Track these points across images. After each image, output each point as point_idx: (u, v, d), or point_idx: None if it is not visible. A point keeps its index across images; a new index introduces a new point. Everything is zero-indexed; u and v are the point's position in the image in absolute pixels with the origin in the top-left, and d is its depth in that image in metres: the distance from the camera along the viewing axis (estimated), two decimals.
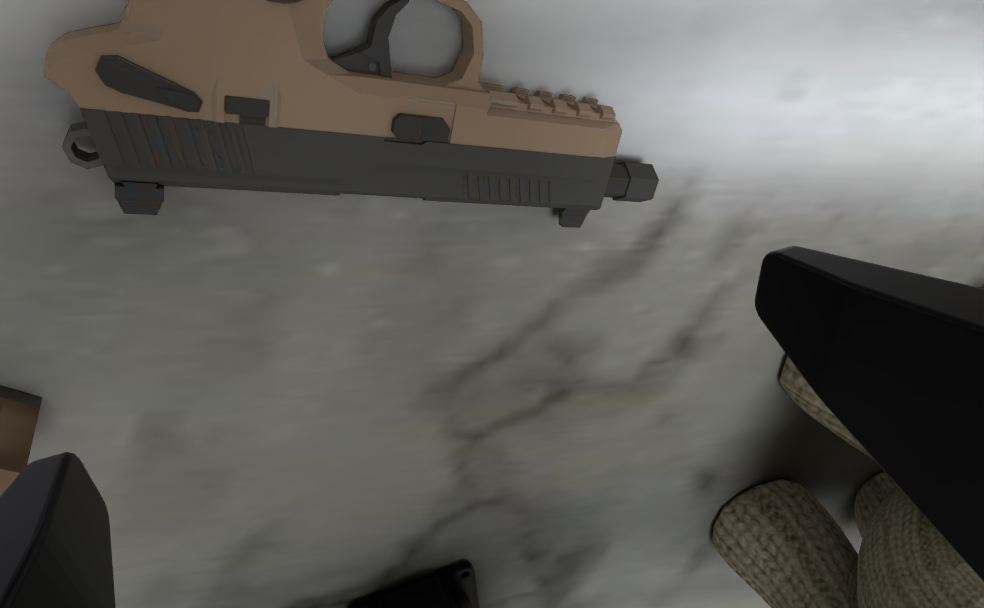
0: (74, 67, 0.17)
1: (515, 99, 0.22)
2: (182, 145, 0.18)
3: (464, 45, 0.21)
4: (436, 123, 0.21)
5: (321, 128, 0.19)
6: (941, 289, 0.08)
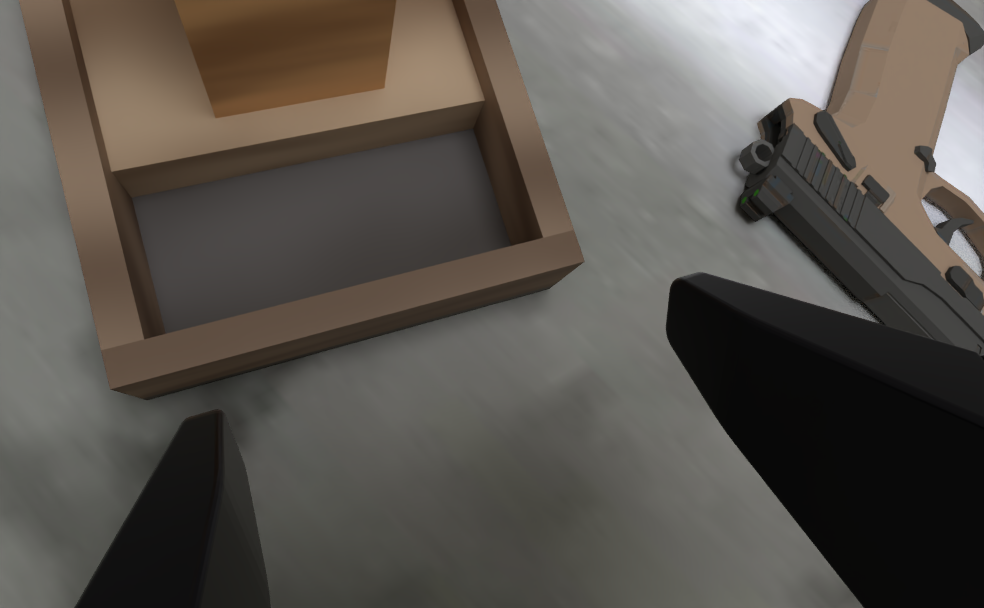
0: (805, 106, 0.25)
1: None
2: (827, 180, 0.25)
3: None
4: (976, 292, 0.26)
5: (906, 235, 0.25)
6: (837, 322, 0.08)
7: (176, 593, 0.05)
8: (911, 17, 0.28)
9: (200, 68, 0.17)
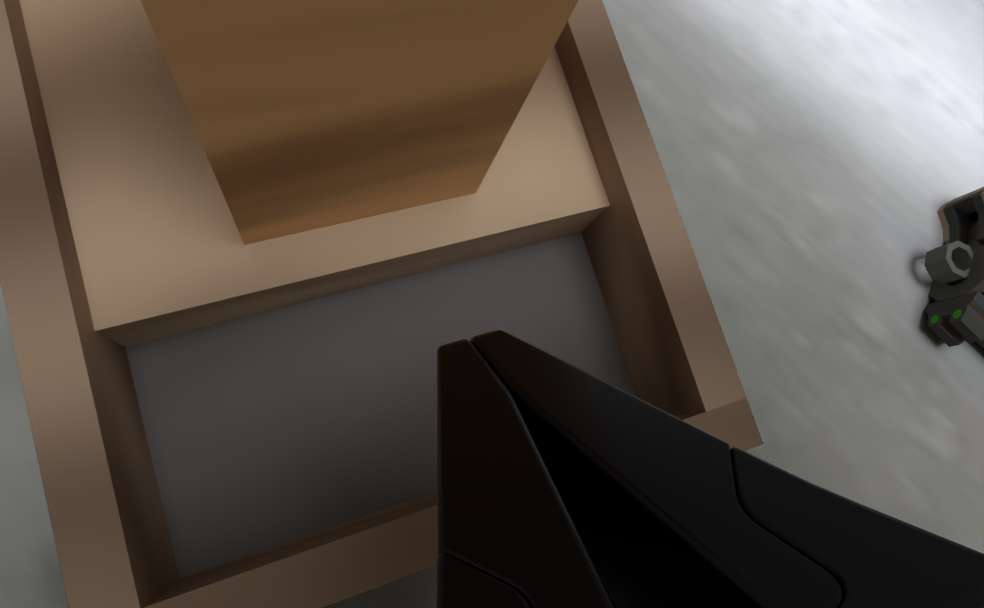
0: None
1: None
2: None
3: None
4: None
5: None
6: (602, 398, 0.07)
7: (529, 470, 0.06)
8: None
9: (227, 196, 0.11)
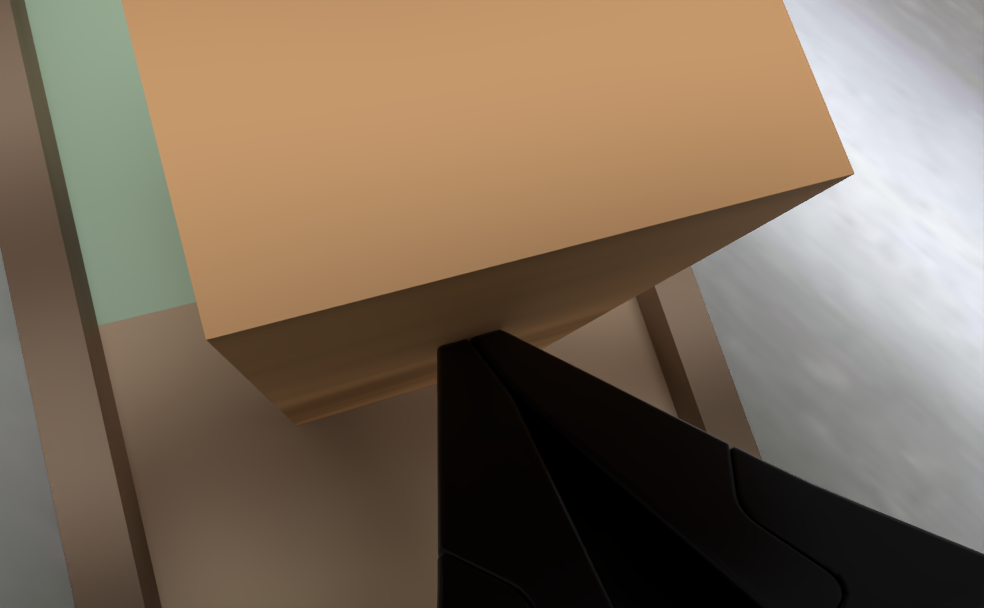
0: None
1: None
2: None
3: None
4: None
5: None
6: (602, 398, 0.07)
7: (529, 470, 0.06)
8: None
9: (290, 416, 0.11)
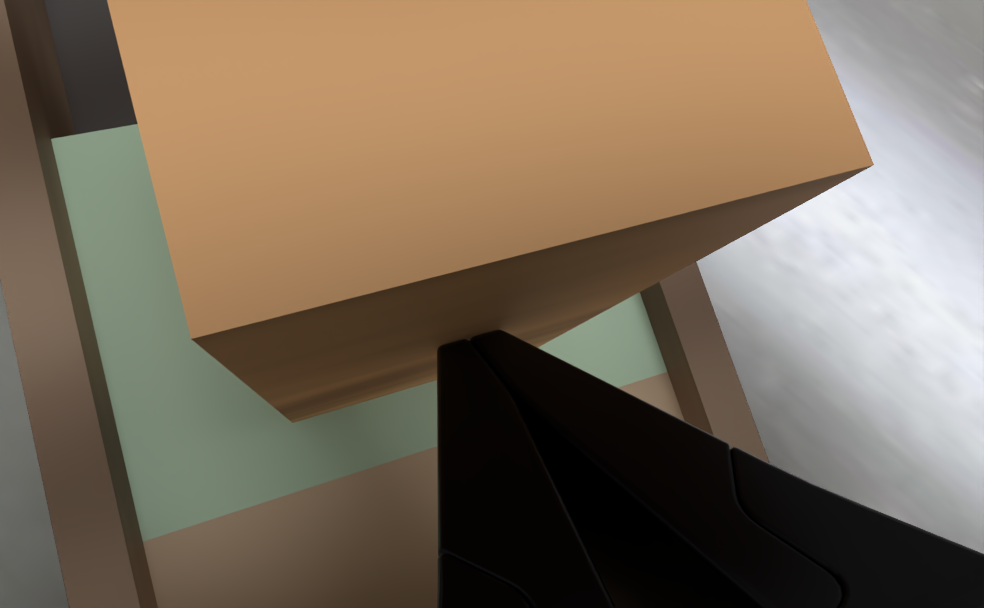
0: None
1: None
2: None
3: None
4: None
5: None
6: (602, 399, 0.07)
7: (529, 470, 0.06)
8: None
9: (286, 414, 0.11)
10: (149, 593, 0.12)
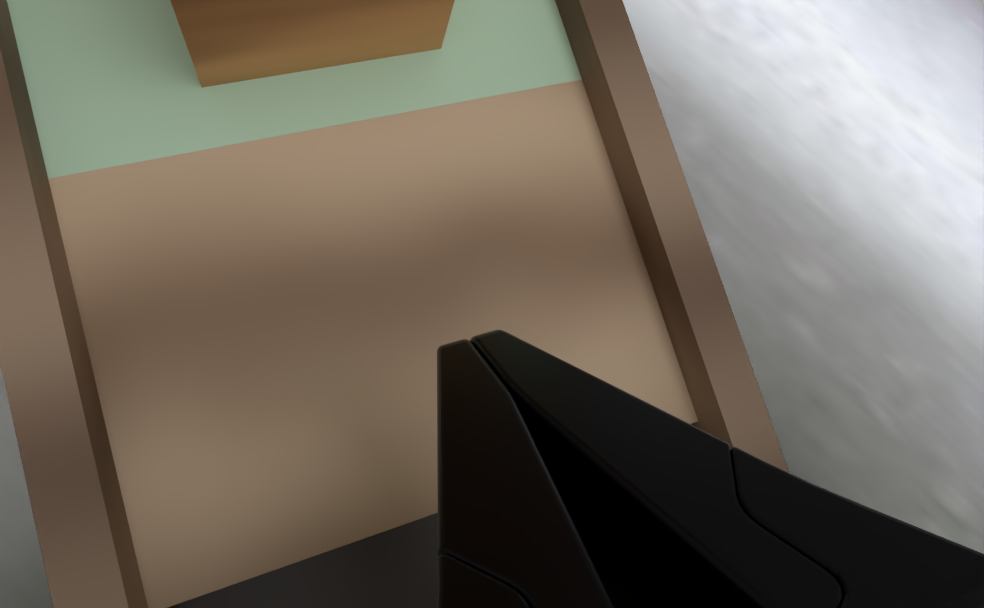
0: None
1: None
2: None
3: None
4: None
5: None
6: (602, 399, 0.07)
7: (529, 470, 0.06)
8: None
9: (175, 5, 0.11)
10: (51, 217, 0.12)
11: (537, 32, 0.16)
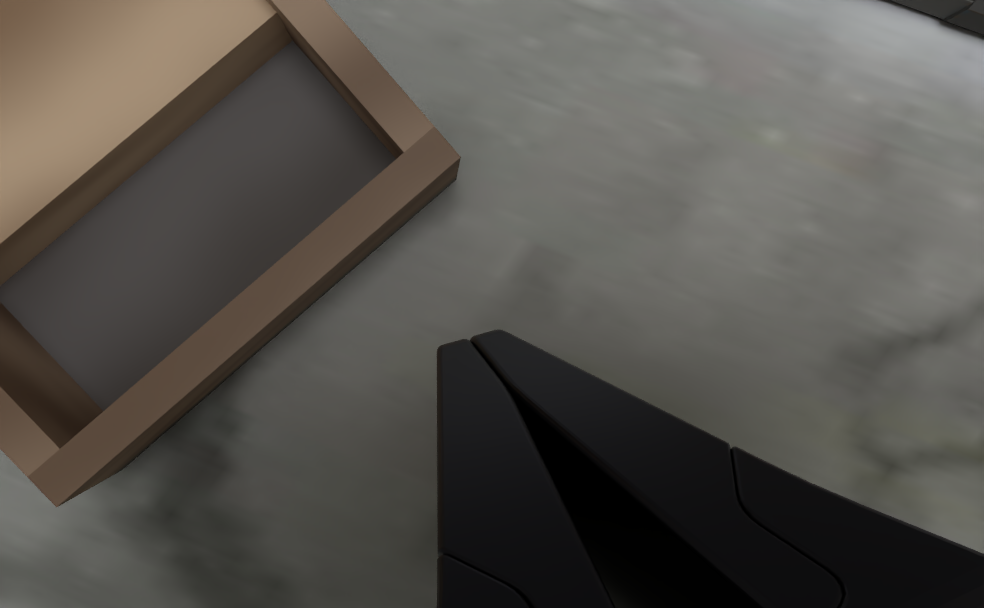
0: None
1: None
2: None
3: None
4: None
5: None
6: (602, 399, 0.07)
7: (529, 470, 0.06)
8: None
9: None
10: None
11: None
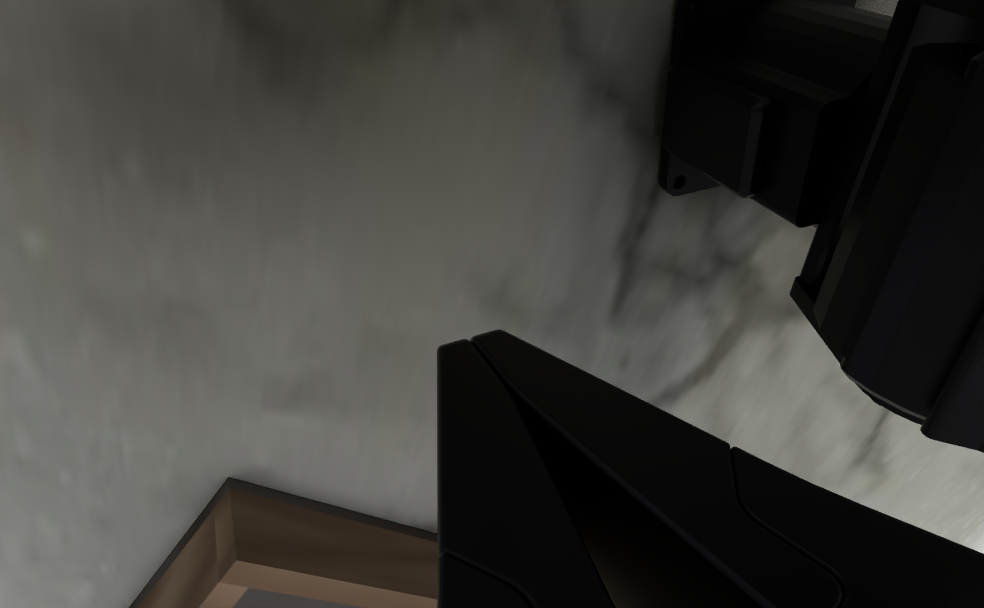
0: None
1: None
2: None
3: None
4: None
5: None
6: (602, 399, 0.07)
7: (529, 470, 0.06)
8: None
9: None
10: None
11: None
